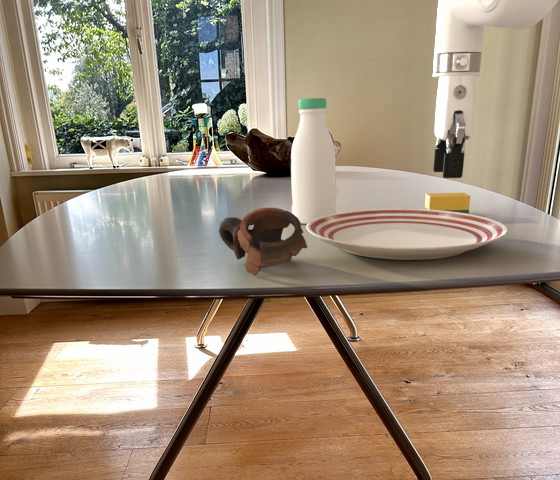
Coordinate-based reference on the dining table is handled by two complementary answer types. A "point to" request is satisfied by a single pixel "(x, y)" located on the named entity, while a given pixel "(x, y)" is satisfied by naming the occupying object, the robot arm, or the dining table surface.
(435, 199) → the sponge
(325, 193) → the milk bottle
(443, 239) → the dinner plate
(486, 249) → the dining table surface
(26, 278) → the dining table surface
